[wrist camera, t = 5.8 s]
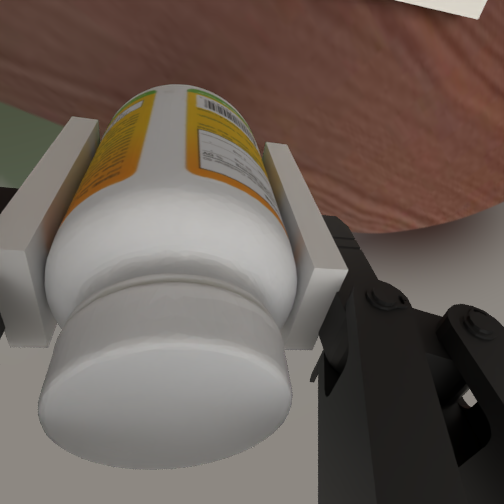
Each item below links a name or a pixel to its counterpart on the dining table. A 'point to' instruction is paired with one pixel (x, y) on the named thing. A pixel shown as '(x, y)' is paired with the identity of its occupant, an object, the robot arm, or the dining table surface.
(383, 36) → the dining table surface
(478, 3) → the socket holder
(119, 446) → the supplement bottle
